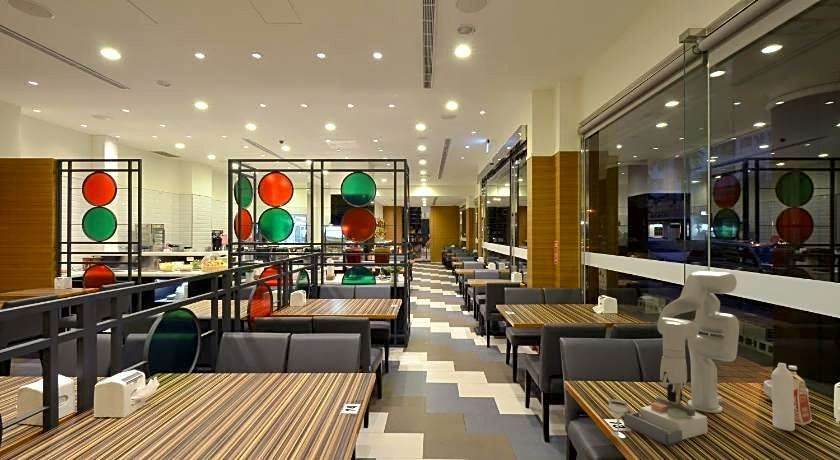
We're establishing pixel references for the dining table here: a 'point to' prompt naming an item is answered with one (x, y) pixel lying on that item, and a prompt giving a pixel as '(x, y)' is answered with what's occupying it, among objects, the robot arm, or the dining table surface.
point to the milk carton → (801, 401)
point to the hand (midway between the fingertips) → (674, 400)
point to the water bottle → (783, 397)
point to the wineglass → (618, 413)
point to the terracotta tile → (660, 407)
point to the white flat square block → (675, 422)
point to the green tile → (677, 413)
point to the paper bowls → (769, 388)
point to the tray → (652, 430)
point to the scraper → (677, 402)
